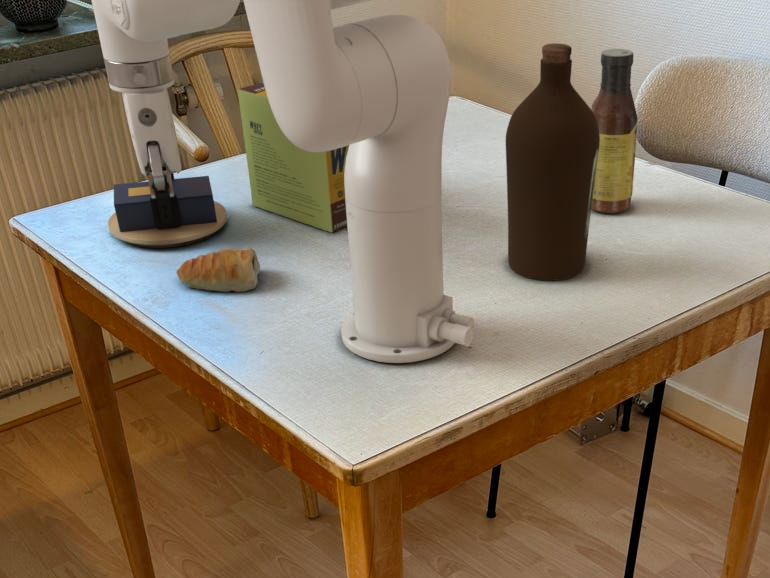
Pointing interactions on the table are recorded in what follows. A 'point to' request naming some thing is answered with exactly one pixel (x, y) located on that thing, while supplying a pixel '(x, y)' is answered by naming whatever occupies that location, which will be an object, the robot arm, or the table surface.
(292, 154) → the protein box
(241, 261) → the pastry
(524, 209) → the olive oil
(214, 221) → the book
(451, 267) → the table surface
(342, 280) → the table surface
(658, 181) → the table surface
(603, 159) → the sauce bottle
